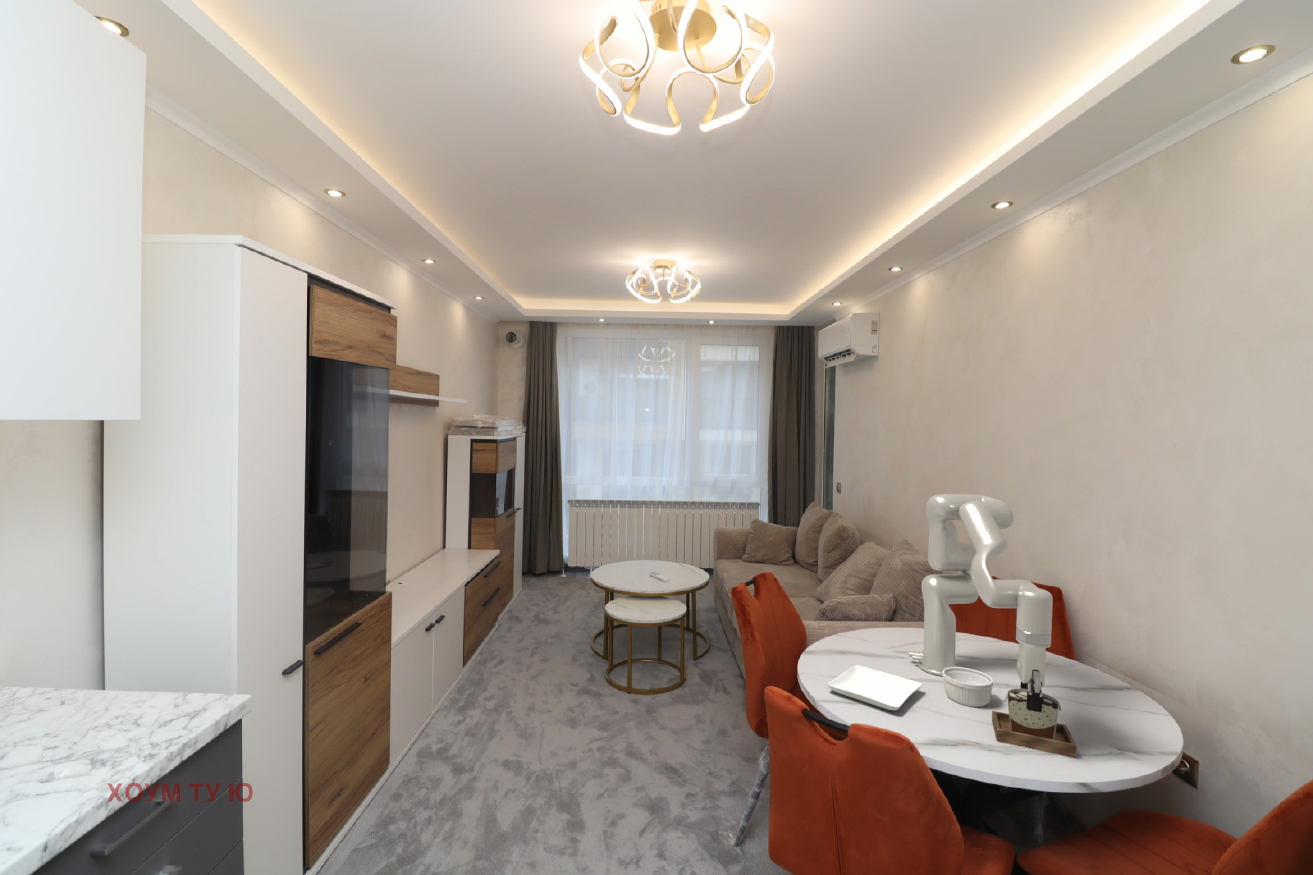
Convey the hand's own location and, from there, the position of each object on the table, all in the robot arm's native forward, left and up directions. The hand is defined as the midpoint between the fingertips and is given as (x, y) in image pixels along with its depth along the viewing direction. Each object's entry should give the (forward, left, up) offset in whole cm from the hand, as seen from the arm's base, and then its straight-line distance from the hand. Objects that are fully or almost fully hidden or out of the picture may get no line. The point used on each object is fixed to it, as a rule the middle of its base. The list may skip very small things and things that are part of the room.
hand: (1030, 702), depth 146 cm
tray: (0, -1, -9) cm, 9 cm away
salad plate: (-38, +8, -10) cm, 40 cm away
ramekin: (-13, +17, -10) cm, 24 cm away
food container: (0, +1, -9) cm, 9 cm away
